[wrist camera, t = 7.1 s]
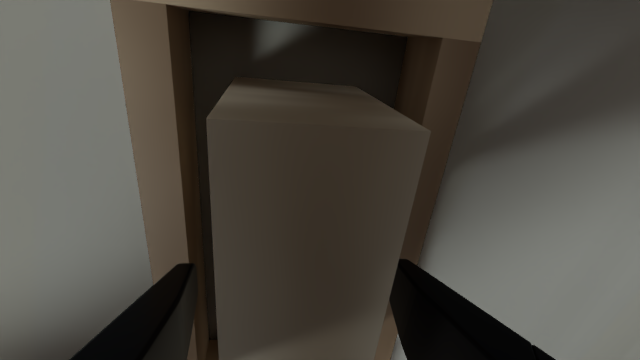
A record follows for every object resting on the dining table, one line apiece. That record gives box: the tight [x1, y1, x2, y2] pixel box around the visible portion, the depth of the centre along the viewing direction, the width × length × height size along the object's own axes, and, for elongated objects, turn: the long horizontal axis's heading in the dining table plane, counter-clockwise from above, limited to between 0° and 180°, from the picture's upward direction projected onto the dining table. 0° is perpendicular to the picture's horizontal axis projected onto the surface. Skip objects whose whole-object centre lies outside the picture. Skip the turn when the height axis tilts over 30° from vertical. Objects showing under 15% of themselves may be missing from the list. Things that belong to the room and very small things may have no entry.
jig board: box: [110, 0, 493, 360], centre depth 12 cm, size 8×23×2 cm, turn 174°
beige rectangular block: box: [206, 77, 431, 360], centre depth 9 cm, size 4×9×5 cm, turn 174°
